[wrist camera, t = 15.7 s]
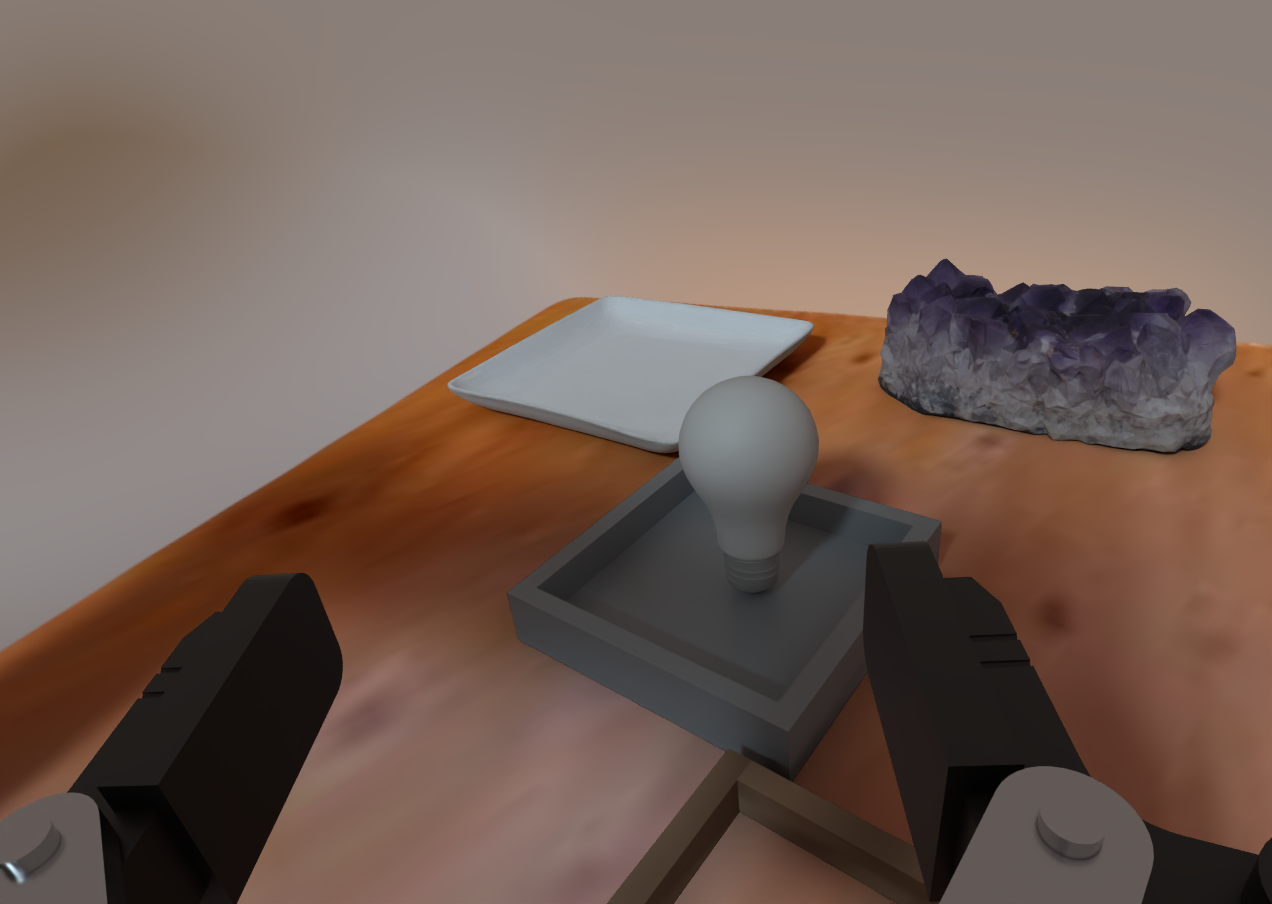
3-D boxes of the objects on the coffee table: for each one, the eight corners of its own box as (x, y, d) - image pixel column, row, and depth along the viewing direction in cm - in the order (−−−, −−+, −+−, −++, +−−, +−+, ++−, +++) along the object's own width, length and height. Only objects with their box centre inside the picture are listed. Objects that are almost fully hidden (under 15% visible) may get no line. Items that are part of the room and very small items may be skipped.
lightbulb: (752, 538, 43) (746, 344, 38) (843, 589, 38) (850, 377, 33) (664, 588, 40) (644, 385, 34) (752, 650, 35) (744, 427, 30)
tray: (518, 639, 39) (506, 592, 38) (692, 491, 49) (688, 449, 47) (790, 785, 30) (788, 731, 29) (937, 570, 40) (941, 521, 39)
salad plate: (820, 356, 65) (820, 316, 63) (683, 487, 50) (678, 439, 48) (610, 325, 76) (605, 290, 74) (450, 424, 62) (439, 384, 60)
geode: (849, 428, 54) (853, 279, 50) (895, 379, 63) (902, 249, 59) (1217, 474, 43) (1257, 290, 40) (1210, 407, 52) (1242, 252, 49)
